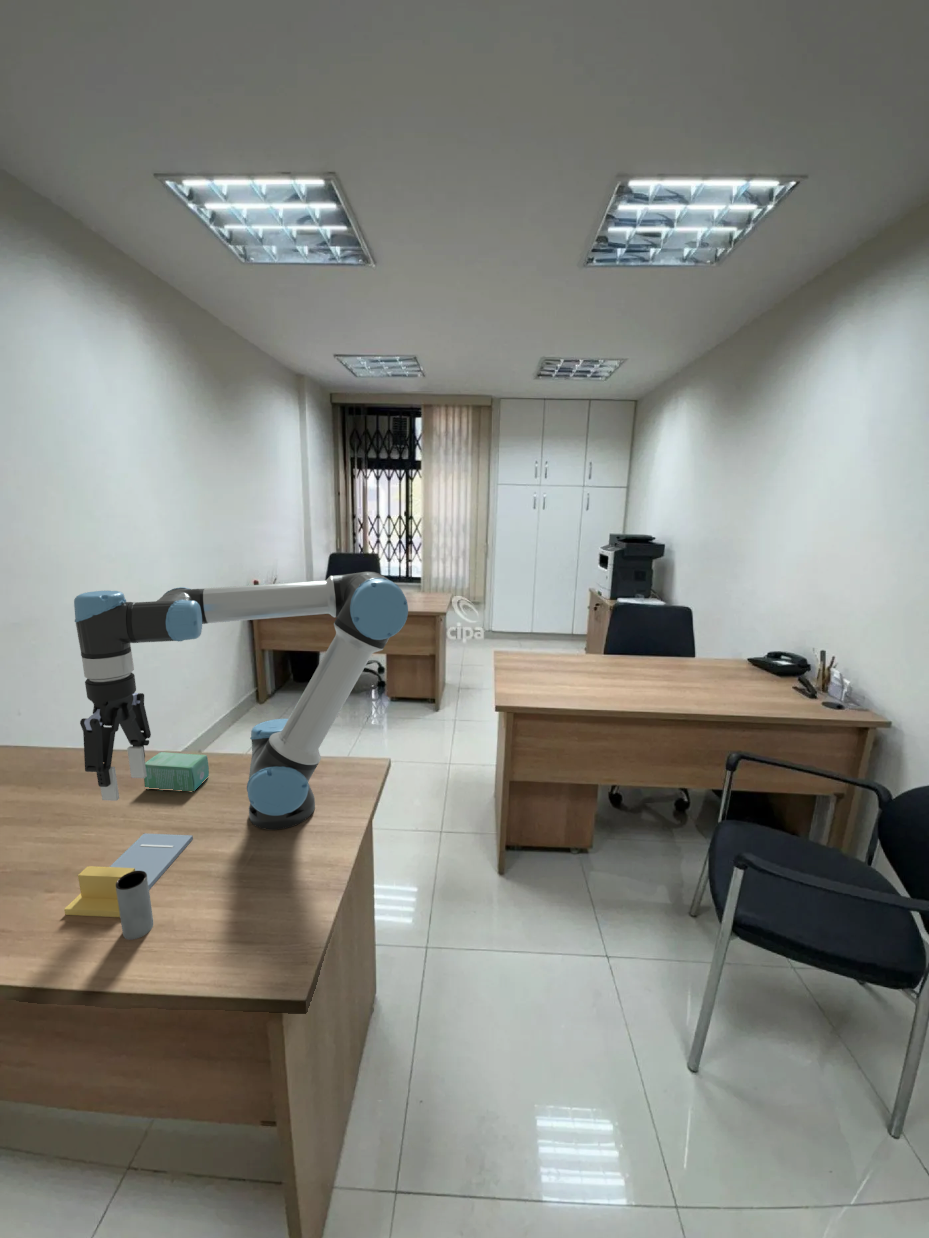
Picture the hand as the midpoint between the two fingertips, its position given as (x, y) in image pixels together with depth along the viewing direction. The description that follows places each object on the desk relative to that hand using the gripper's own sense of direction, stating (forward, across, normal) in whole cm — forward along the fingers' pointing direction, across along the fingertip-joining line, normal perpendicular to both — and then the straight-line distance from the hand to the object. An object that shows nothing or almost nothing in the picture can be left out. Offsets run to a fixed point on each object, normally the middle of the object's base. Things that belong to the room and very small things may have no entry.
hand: (125, 787), depth 98 cm
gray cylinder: (+19, +14, +10) cm, 25 cm away
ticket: (+19, -2, 0) cm, 19 cm away
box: (+19, -32, -11) cm, 39 cm away
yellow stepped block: (+19, +9, 0) cm, 21 cm away
